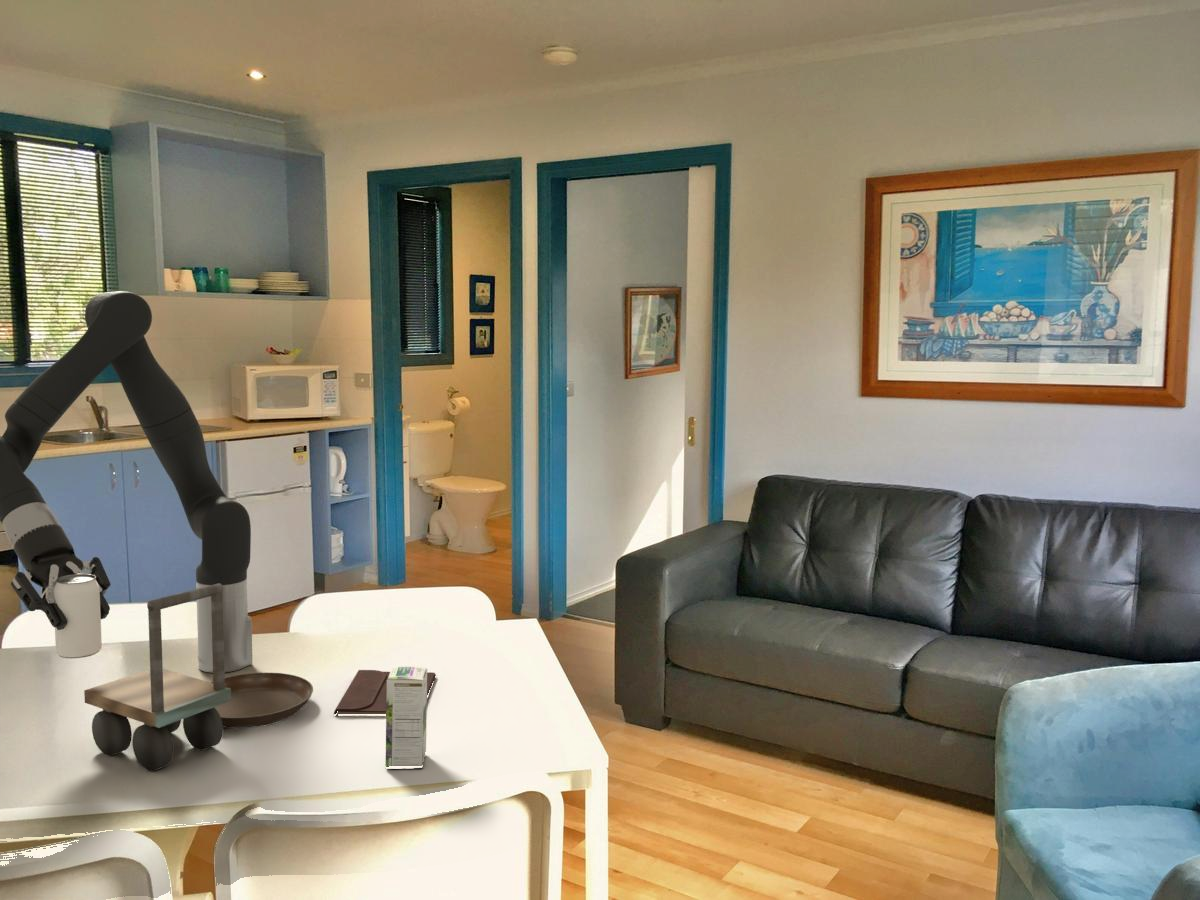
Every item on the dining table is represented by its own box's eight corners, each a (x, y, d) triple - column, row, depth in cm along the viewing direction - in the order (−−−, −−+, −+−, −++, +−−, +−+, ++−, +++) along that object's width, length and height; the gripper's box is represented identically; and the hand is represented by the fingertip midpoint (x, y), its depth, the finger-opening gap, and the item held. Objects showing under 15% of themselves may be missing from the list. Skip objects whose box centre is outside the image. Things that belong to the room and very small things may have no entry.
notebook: (436, 680, 198) (436, 670, 198) (421, 720, 178) (421, 709, 178) (357, 679, 197) (357, 669, 197) (333, 719, 178) (333, 708, 177)
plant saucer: (242, 744, 166) (242, 725, 165) (162, 716, 177) (161, 697, 176) (338, 705, 183) (338, 687, 183) (259, 681, 194) (259, 664, 194)
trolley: (86, 752, 161) (79, 584, 158) (159, 724, 172) (154, 568, 169) (160, 779, 152) (154, 603, 149) (232, 749, 163) (228, 584, 160)
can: (82, 660, 159) (79, 585, 157) (46, 657, 160) (42, 581, 159) (110, 647, 165) (108, 575, 164) (75, 644, 167) (72, 571, 165)
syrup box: (389, 754, 163) (389, 666, 161) (427, 754, 163) (427, 665, 161) (385, 770, 157) (384, 678, 155) (424, 770, 158) (424, 678, 156)
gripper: (0, 530, 158) (49, 618, 154) (88, 516, 170) (136, 597, 166) (-17, 559, 161) (30, 646, 157) (71, 543, 174) (116, 623, 169)
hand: (84, 621), depth 161 cm, fingers closed on can, 6 cm apart
